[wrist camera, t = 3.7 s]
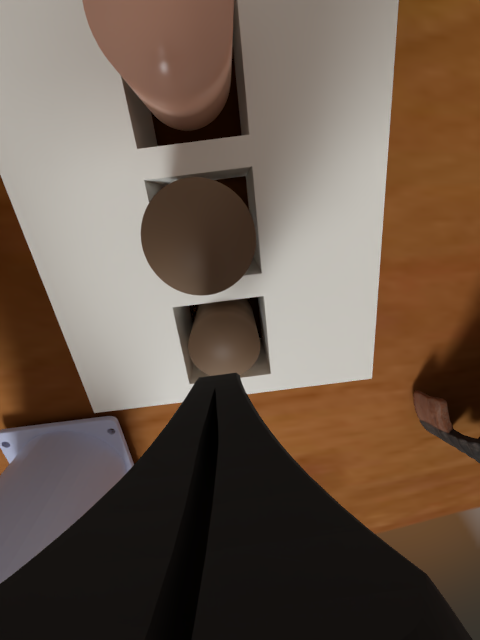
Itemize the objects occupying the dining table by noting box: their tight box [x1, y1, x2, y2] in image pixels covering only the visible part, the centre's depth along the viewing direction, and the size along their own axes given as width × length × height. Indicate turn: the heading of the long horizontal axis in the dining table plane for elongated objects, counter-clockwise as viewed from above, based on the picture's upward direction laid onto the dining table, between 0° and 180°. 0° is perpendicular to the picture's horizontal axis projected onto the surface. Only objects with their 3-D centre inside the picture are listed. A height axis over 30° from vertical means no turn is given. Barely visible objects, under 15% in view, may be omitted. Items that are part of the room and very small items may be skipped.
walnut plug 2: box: [188, 298, 260, 376], centre depth 14 cm, size 3×3×4 cm
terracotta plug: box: [82, 0, 234, 131], centre depth 8 cm, size 3×3×4 cm
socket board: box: [0, 0, 399, 413], centre depth 13 cm, size 16×14×4 cm
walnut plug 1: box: [141, 177, 256, 296], centre depth 10 cm, size 3×3×4 cm
